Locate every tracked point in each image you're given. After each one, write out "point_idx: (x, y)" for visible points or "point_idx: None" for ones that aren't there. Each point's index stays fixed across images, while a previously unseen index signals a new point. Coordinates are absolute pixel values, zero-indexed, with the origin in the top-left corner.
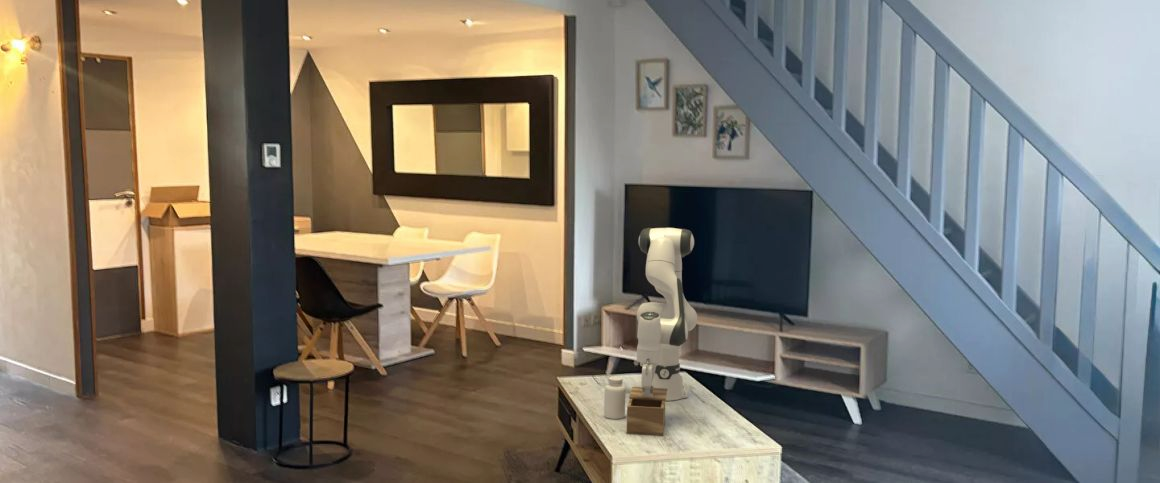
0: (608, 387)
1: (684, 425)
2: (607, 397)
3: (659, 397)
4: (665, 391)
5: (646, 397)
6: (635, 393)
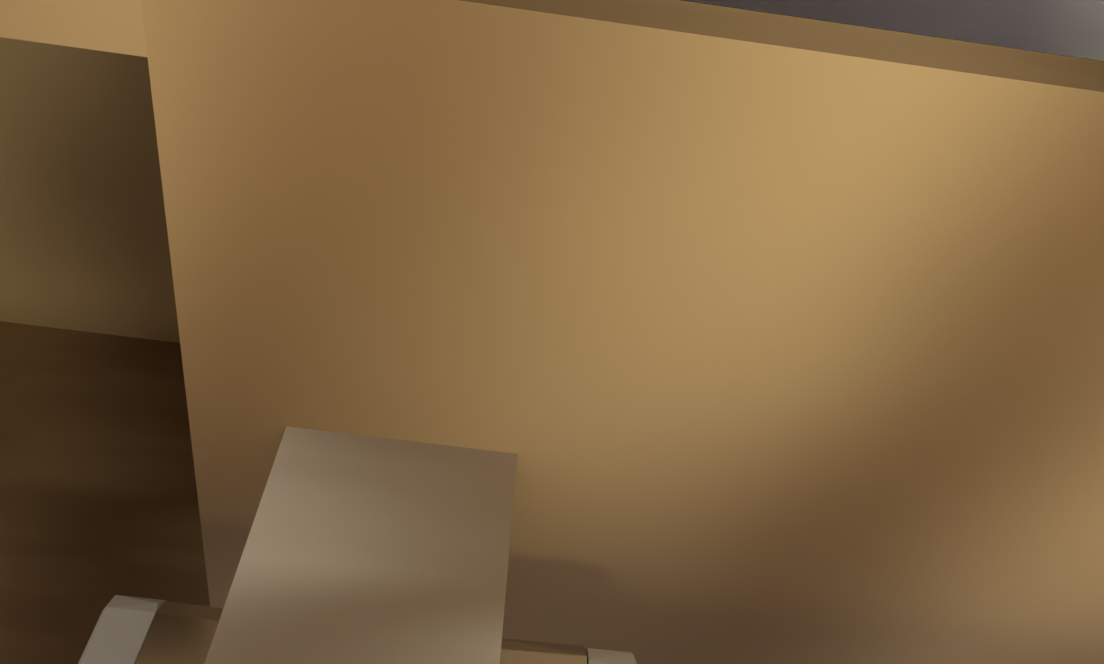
0: None
1: None
2: None
3: None
4: None
5: (242, 527)
6: (743, 254)
